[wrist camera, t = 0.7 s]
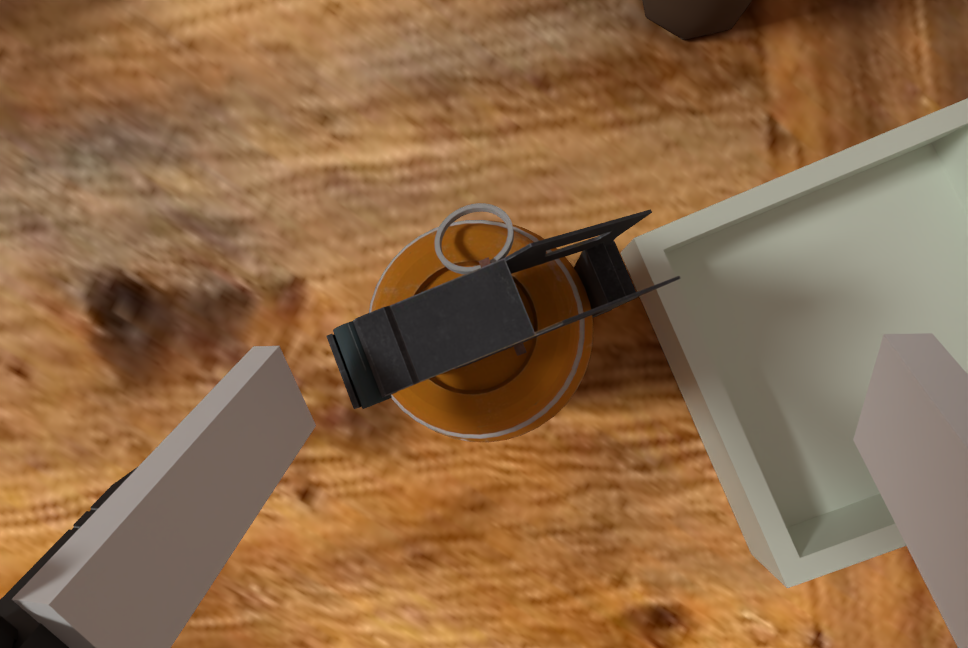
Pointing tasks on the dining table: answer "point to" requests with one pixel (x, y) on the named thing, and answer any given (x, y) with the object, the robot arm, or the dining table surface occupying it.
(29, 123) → the dining table surface
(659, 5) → the beer bottle
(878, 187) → the tray
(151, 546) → the robot arm
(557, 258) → the canister
